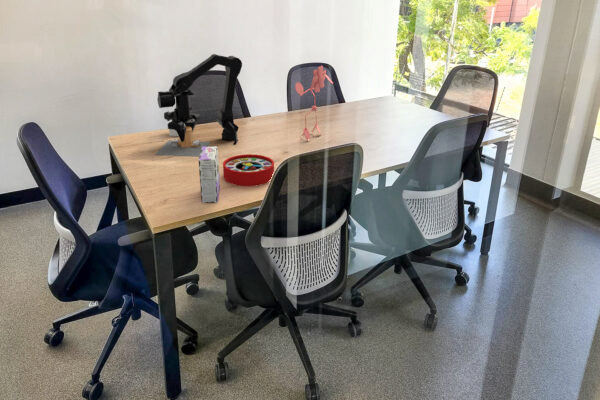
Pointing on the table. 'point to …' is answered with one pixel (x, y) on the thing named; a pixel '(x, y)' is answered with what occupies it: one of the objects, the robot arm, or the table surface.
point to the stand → (182, 149)
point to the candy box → (209, 174)
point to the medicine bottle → (173, 132)
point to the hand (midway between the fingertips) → (185, 139)
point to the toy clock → (248, 170)
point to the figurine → (317, 83)
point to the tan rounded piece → (187, 139)
